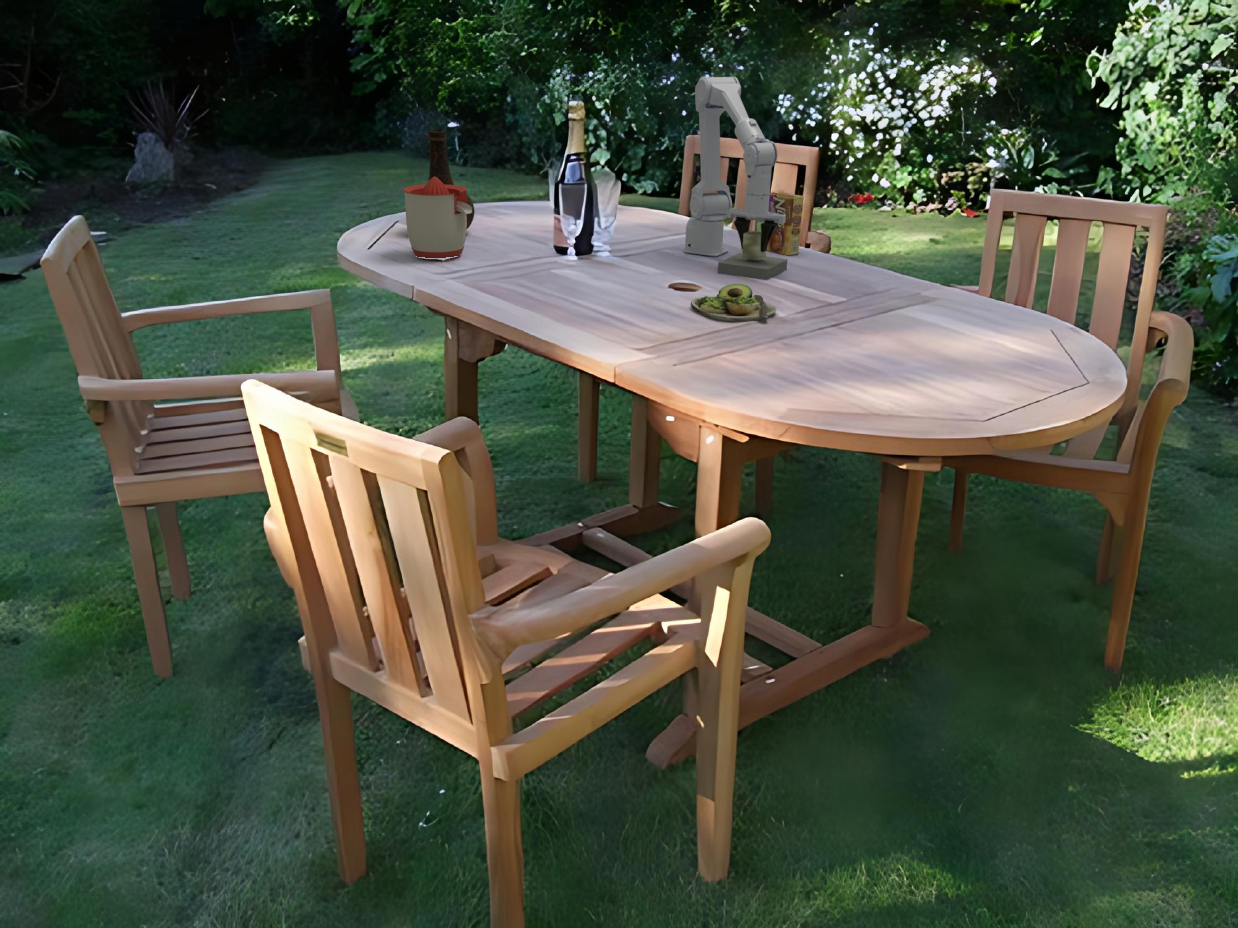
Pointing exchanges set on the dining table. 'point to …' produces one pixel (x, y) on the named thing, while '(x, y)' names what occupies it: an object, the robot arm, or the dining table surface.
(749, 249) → the sage block
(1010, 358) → the dining table surface
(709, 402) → the dining table surface
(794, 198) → the candy box
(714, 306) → the salad plate
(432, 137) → the glass bottle
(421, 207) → the citrus juicer
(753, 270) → the base board
